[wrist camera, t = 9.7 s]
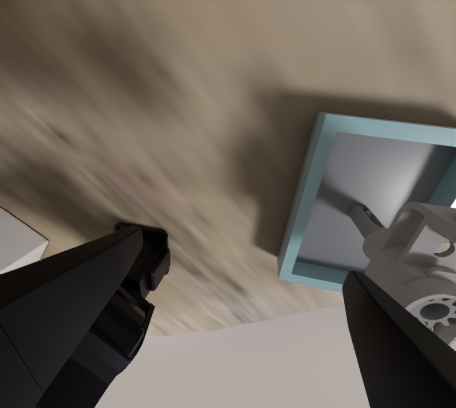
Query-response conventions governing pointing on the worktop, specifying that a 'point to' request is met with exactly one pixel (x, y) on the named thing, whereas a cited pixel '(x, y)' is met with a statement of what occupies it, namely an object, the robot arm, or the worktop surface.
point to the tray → (360, 190)
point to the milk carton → (18, 243)
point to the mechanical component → (415, 261)
